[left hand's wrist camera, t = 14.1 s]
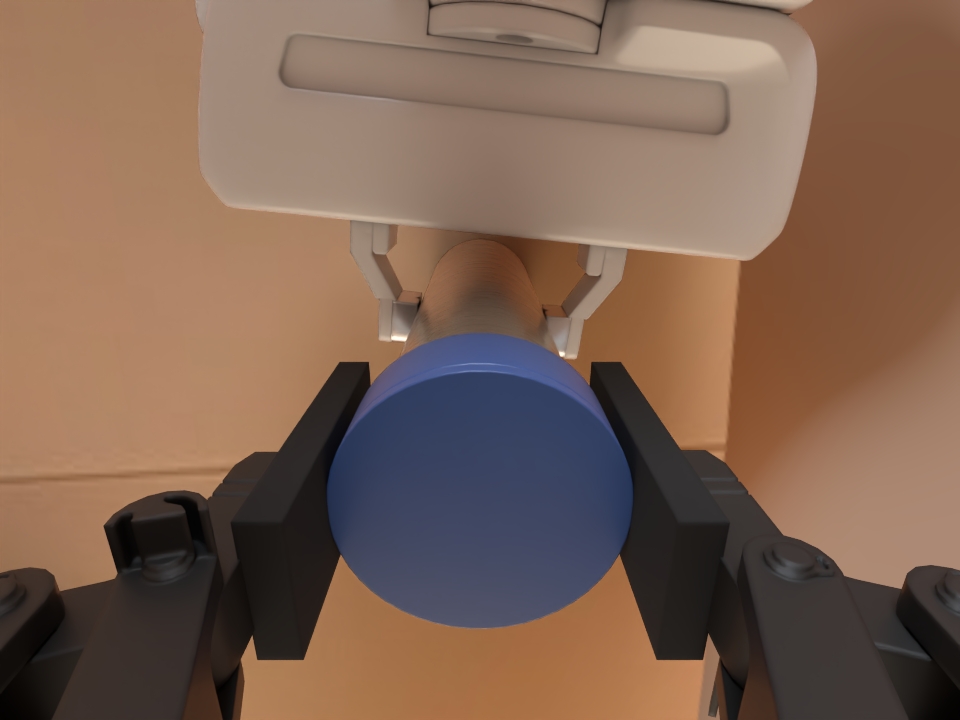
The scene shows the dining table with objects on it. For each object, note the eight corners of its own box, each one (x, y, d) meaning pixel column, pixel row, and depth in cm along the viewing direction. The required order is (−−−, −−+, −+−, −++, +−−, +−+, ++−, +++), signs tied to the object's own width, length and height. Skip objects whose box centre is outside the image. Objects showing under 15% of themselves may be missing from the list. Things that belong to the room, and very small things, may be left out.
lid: (390, 294, 11) (370, 326, 9) (652, 380, 12) (688, 428, 10) (325, 519, 13) (296, 588, 11) (551, 582, 14) (564, 657, 11)
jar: (448, 224, 26) (391, 346, 9) (543, 257, 27) (650, 428, 10) (419, 317, 28) (326, 562, 11) (509, 347, 29) (551, 622, 12)
